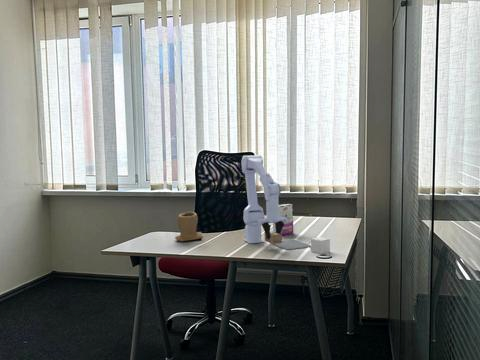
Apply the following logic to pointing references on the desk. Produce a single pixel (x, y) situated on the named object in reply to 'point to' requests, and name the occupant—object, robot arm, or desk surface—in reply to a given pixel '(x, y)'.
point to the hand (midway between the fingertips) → (272, 238)
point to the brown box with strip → (274, 238)
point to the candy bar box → (287, 212)
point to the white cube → (320, 245)
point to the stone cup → (188, 227)
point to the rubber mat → (292, 244)
